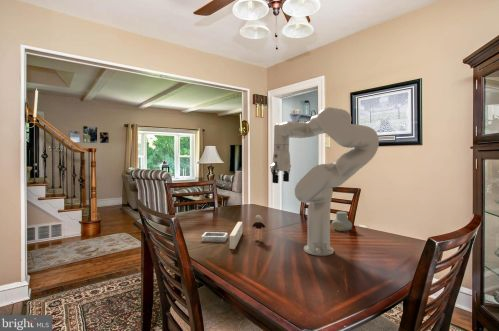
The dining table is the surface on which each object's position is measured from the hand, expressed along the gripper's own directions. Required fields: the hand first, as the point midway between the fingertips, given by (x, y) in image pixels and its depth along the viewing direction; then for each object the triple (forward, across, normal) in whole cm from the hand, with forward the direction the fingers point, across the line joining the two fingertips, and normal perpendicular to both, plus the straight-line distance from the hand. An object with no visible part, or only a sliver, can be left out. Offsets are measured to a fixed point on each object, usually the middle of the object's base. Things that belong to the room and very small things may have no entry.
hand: (280, 182), depth 137 cm
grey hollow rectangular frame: (+29, -23, +24) cm, 44 cm away
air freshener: (+28, +34, -19) cm, 48 cm away
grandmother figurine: (+29, -11, +5) cm, 31 cm away
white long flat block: (+29, -17, +14) cm, 36 cm away
